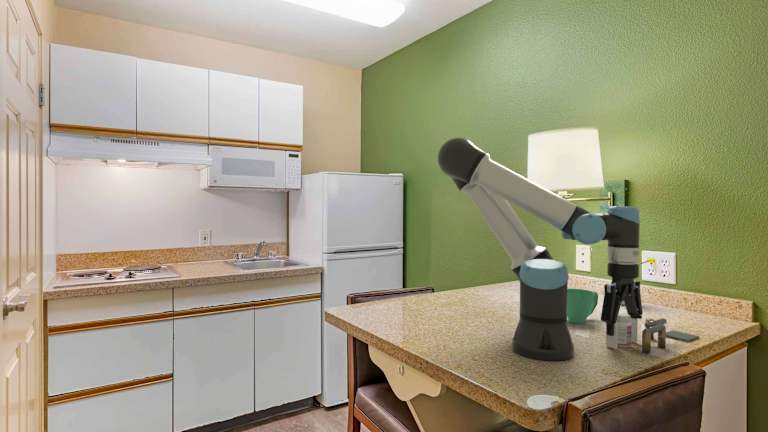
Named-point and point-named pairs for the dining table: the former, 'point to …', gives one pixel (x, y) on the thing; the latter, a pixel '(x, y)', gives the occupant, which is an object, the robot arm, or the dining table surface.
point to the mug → (580, 304)
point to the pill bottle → (624, 330)
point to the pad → (681, 336)
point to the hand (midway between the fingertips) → (621, 344)
